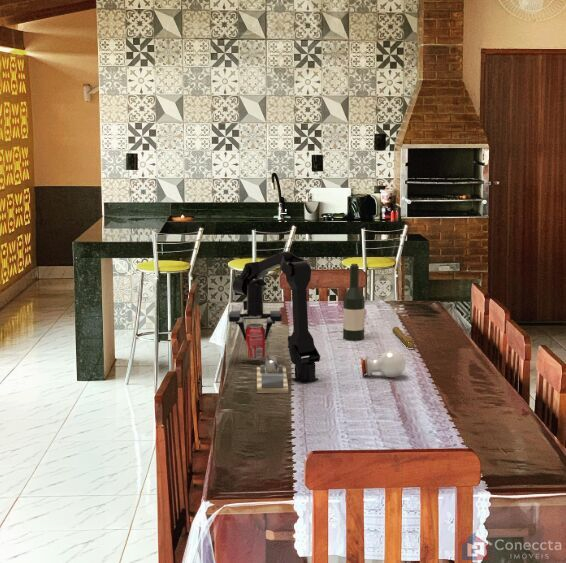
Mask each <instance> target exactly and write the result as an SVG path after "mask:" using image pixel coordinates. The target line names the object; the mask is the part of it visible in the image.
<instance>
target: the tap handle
mask: <svg viewBox="0 0 566 563" xmlns="http://www.w3.org/2000/svg"><path fill="white" fill-rule="evenodd" d="M392 333H393V334H394V335H395V336H396V337H397V336H398V337H399V339H400V343H401V342H402V343H403V344H404V345H405V346H406V347H408V348H414V349H415V347H416V345H415V343H414V342H415V341H414V339H413V338H412V337H411V336H410V335H405V334H404V333H403V331H402V330H401V328H400V327H398V326H394V327H392ZM398 337H397V338H398ZM408 342H409V343H408ZM402 343H401V344H402ZM403 344H402V345H403ZM404 345H403V346H404ZM408 348H407V349H408Z"/></svg>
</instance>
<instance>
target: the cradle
mask: <svg viewBox="0 0 566 563" xmlns="http://www.w3.org/2000/svg"><path fill="white" fill-rule="evenodd" d="M277 367H278V369H277V372H276V373H274V374H269V373H267V371H266V364H260V365H259V366H256V394H257V393H279V394H289V384H288V376H287V368H286V366H284V364H277Z"/></svg>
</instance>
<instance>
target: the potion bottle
mask: <svg viewBox="0 0 566 563" xmlns="http://www.w3.org/2000/svg"><path fill="white" fill-rule="evenodd" d="M360 361H361V363H360V364H361V373H362V376H365V375H367V376H368V377H370V376H371V375H372V374H373V373H379V372H380V373H381V374H382V375H383V376H384V377H386V378H389V377H393V378H392V379H395V378H397V377H399V376H401V375H402V374H403V372H405V369H406V364H407V361H406V359H405V357H404V355H403V354H402V353H400V352H399V351H397V350H393V349H389V350H386V351H384V352H382V353H381V355H380V357H378V358H373V359H372V358H371V357H369V356H365V359H363V358H362V357H361V358H360ZM394 377H395V378H394Z"/></svg>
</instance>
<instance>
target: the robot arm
mask: <svg viewBox="0 0 566 563" xmlns="http://www.w3.org/2000/svg"><path fill="white" fill-rule="evenodd" d="M279 267H280V268H279ZM276 268H279V269H280V271H281V272H282V273H283V274H284V275H285V278H286V279H285V280H286V282H287V284H288V285H289V287H290V288H291V303H292V304H291V306H292V308H291V309H292V323H293V324H292V325H293V331H292V334H291V335H288V336H287V343H288V344H287V349H288V353H289V357H290V361H291V363H292V364H293V365H294V377H293V378H292V381H294V382H295V381H296V382H299V383H304V384H309V383H311V382H316V381H318V380H319V378H318V377H316V363H317V362H320V360H321V354H320V353H319V351H318V349H317V348H316V346H315V341H314V338H313V336H312V334H311V332H310V331H309V316H308V314H309V313H308V294H307V292H308V291H307V288H308V285H309V284H310V282H311V279H312V278H311V277H312V268H311V265H310V264H309V263H308V262H307V261H305V259H303V258H302V257H300V256H297V255H295V254H293V252H291V251H289V250H287V251H279V252H276V254H274V255H272V256H268V257H266V258H264V259H263V260H259V261H254V262H253V261H252V262H246V263H245V264H244V267H243V268H242V270H241V273H240V274H237V275H236V278H235V279H234V281H233V283H232V285H231V286H232V290H233V291H234V293H236V294H241V295H244V296H246V300H243V302H242V303H243V305H242V306H243V307H242V308H243V311H246V313H241V311H240V310H237V311H234V310H233V311H232V310H230V312H229V313H228V322H229V323H234V325H238V327H239V329H240V331H241V333H242V336H243V339H244V341H245V340H246V335H245V334H246V328H245V322H244V320H252V319H253V320H266V324H265V325H266V326H265V341H267V338H268V335H269V333H270V330H271V328H272V326H273V325H275V324H276V322H282V321H283V320H282V317H283V316H282V312H281V310H270V312H269V313H264V286H267V283H266V281H264V279H263V278H264V277H265V276H267V275H268V274H269V272H270V271H271V270H274V269H276Z"/></svg>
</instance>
